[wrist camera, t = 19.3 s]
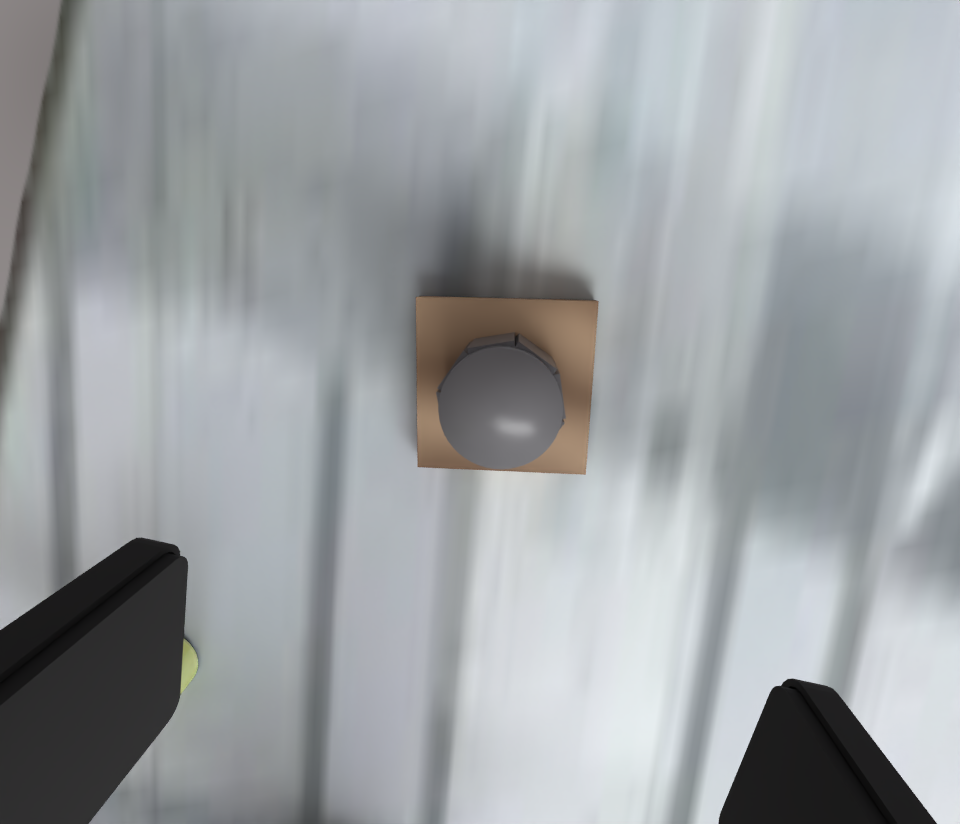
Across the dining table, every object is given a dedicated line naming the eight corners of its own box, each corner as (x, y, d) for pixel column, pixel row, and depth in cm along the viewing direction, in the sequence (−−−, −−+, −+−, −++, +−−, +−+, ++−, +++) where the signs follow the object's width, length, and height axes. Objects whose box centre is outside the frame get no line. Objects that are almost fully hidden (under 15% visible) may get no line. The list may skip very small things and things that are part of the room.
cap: (428, 400, 31) (411, 423, 26) (490, 312, 29) (484, 319, 25) (515, 460, 31) (514, 494, 27) (580, 377, 30) (591, 396, 25)
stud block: (582, 465, 33) (593, 499, 28) (421, 458, 33) (405, 490, 28) (594, 300, 30) (609, 305, 25) (420, 296, 31) (402, 300, 26)
